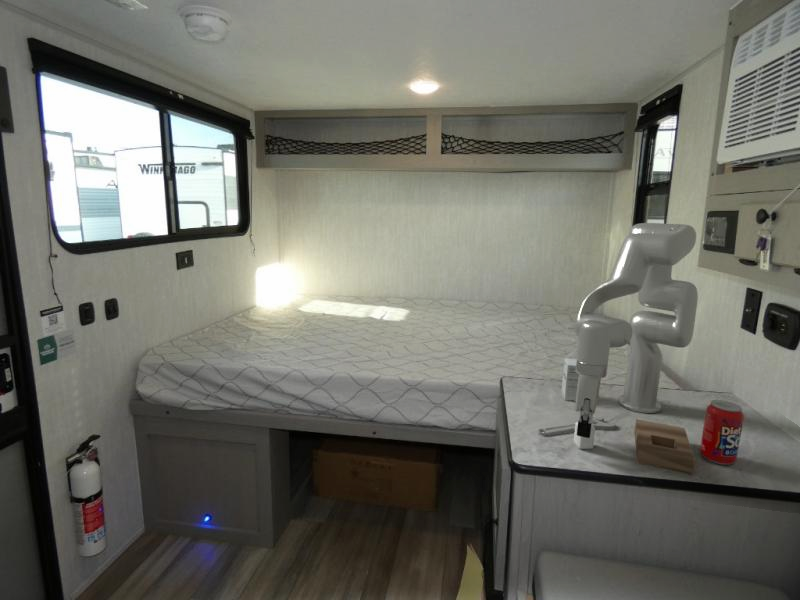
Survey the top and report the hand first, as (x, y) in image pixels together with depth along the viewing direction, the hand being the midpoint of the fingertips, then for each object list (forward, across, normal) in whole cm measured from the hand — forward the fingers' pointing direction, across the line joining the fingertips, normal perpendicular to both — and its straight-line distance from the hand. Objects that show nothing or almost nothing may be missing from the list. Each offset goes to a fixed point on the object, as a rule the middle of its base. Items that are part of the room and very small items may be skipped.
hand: (584, 428), depth 123 cm
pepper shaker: (+5, 0, 0) cm, 5 cm away
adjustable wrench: (+6, -11, -3) cm, 12 cm away
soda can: (+5, -9, +32) cm, 34 cm away
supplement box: (+5, -34, -5) cm, 35 cm away
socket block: (+5, -7, +19) cm, 21 cm away
